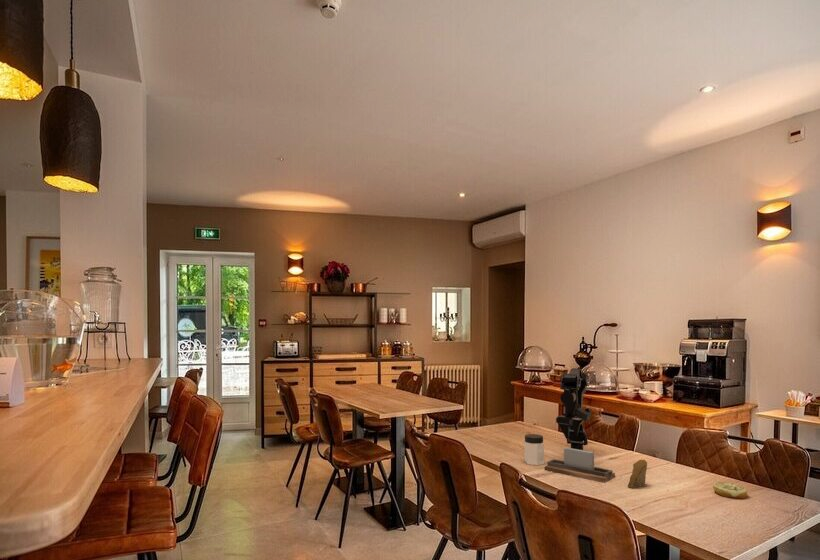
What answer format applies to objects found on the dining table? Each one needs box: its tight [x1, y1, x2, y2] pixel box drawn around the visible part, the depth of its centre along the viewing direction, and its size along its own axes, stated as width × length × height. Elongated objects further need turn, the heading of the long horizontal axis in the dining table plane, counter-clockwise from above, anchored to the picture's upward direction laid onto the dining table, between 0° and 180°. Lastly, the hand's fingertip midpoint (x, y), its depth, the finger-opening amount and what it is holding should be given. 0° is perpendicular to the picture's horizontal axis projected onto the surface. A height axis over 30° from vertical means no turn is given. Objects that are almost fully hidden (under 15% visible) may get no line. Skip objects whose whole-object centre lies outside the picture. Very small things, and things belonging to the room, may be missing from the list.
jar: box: [523, 433, 545, 466], centre depth 236 cm, size 9×8×12 cm
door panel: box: [563, 447, 595, 470], centre depth 220 cm, size 2×12×8 cm, turn 48°
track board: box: [544, 458, 616, 483], centre depth 219 cm, size 11×26×3 cm, turn 48°
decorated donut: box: [712, 481, 748, 500], centre depth 193 cm, size 10×11×4 cm
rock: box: [627, 459, 648, 489], centre depth 204 cm, size 11×9×10 cm
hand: (571, 437), depth 234 cm, fingers open, 9 cm apart
